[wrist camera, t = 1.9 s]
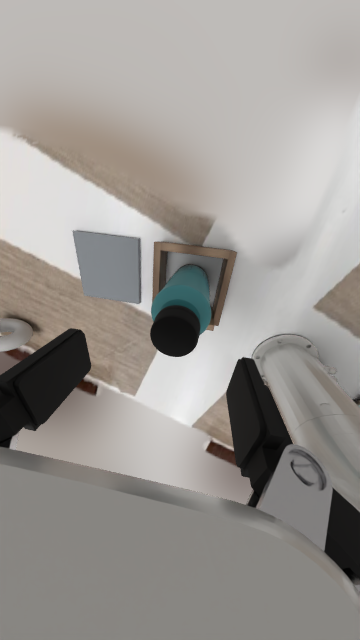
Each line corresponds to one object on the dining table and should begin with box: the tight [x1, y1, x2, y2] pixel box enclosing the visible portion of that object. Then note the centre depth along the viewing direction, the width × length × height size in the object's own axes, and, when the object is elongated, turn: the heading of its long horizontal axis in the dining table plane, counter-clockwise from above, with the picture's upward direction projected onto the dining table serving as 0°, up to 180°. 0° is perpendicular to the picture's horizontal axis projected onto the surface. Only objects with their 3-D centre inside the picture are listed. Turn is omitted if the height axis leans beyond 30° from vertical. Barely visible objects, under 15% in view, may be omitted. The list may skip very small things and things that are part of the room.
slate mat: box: [73, 231, 141, 304], centre depth 31 cm, size 12×12×1 cm
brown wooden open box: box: [152, 242, 237, 331], centre depth 27 cm, size 12×12×7 cm
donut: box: [0, 318, 33, 351], centre depth 36 cm, size 10×4×10 cm, turn 69°
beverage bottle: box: [150, 264, 211, 357], centre depth 21 cm, size 6×7×20 cm
